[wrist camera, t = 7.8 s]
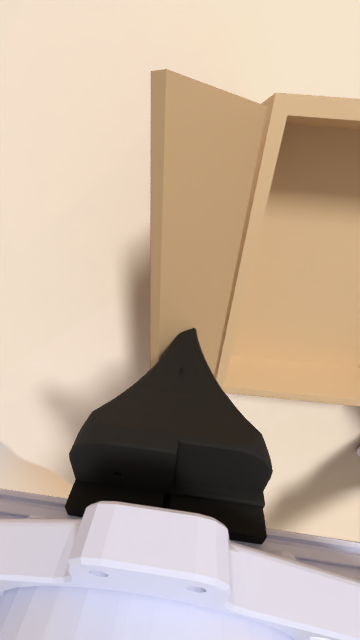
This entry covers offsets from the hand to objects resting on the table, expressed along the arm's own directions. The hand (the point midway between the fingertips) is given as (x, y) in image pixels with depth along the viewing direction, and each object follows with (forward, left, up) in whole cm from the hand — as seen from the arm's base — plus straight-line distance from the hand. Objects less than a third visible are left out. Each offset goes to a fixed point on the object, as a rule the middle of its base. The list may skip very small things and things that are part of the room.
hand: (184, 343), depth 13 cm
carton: (+2, -9, -7) cm, 11 cm away
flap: (+2, -1, 0) cm, 2 cm away
